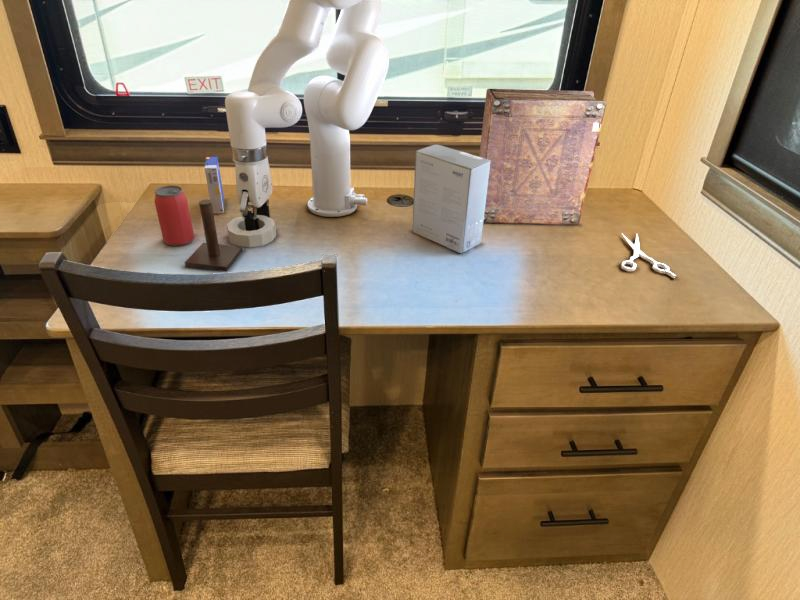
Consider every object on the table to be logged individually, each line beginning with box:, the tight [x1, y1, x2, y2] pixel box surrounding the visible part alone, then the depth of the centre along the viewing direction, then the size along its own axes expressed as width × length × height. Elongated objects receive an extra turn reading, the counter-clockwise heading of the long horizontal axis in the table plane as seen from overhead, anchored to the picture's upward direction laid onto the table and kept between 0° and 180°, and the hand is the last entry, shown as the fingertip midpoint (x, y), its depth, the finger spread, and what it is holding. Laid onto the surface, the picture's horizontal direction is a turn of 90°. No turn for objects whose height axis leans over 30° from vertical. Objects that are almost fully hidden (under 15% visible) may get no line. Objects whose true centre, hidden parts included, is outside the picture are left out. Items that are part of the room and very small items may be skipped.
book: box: [478, 88, 607, 226], centre depth 133 cm, size 25×9×30 cm, turn 91°
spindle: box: [184, 199, 244, 272], centre depth 115 cm, size 9×9×13 cm
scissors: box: [620, 232, 677, 279], centre depth 127 cm, size 11×1×20 cm
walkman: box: [204, 156, 225, 214], centre depth 137 cm, size 8×3×12 cm, turn 13°
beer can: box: [154, 184, 195, 247], centre depth 122 cm, size 7×7×12 cm
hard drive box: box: [411, 143, 491, 254], centre depth 125 cm, size 16×8×20 cm, turn 47°
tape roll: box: [226, 215, 277, 248], centre depth 127 cm, size 10×10×3 cm
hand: (258, 226), depth 131 cm, fingers open, 6 cm apart
